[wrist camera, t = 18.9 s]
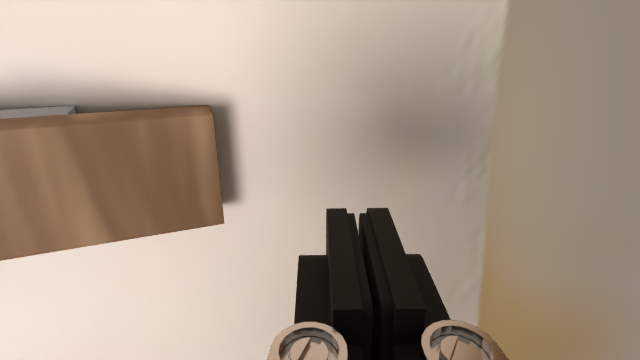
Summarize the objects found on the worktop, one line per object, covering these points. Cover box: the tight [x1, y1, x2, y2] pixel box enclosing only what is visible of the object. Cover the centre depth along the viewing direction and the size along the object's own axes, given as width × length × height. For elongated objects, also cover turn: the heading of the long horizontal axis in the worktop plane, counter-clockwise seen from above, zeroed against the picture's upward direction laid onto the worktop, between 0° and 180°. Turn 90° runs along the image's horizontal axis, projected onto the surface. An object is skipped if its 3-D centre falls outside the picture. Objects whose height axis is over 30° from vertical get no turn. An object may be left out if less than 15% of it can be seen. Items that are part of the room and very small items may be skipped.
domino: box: [0, 105, 224, 261], centre depth 16 cm, size 2×5×10 cm
